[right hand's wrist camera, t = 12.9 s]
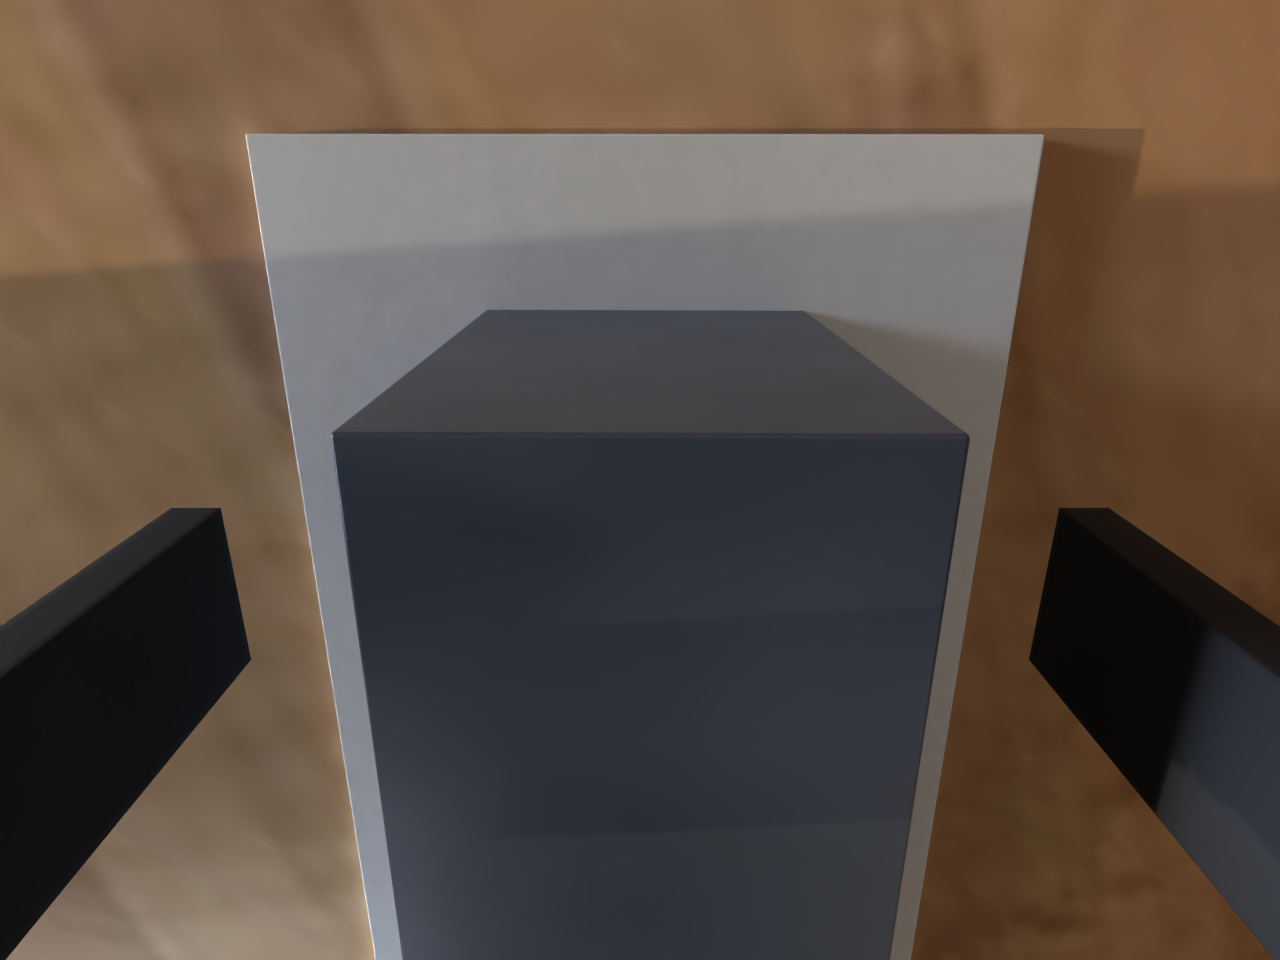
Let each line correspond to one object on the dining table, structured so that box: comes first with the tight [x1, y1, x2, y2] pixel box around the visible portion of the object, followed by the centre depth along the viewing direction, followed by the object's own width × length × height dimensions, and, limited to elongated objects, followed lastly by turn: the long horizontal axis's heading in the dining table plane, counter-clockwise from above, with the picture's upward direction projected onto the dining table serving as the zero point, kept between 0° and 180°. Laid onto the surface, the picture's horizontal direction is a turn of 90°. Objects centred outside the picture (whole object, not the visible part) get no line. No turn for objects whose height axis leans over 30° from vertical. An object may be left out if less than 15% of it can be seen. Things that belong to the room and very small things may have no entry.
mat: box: [246, 134, 1045, 960], centre depth 20 cm, size 14×36×1 cm, turn 0°
